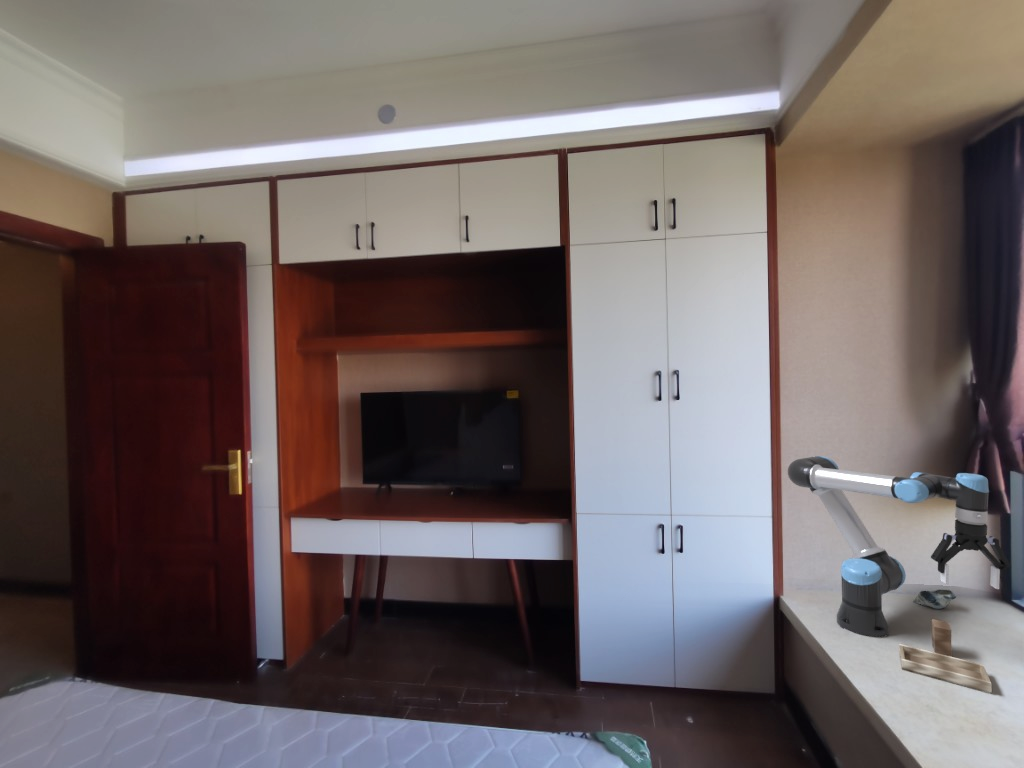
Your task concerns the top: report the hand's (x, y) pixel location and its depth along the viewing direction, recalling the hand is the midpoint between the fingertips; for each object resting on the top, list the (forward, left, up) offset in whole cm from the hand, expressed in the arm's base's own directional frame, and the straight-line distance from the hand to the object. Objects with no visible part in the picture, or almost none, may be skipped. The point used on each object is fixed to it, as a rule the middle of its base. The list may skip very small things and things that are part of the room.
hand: (969, 584), depth 152 cm
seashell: (0, +33, -17) cm, 38 cm away
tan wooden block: (-7, -6, -22) cm, 24 cm away
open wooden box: (-9, -20, -22) cm, 31 cm away
